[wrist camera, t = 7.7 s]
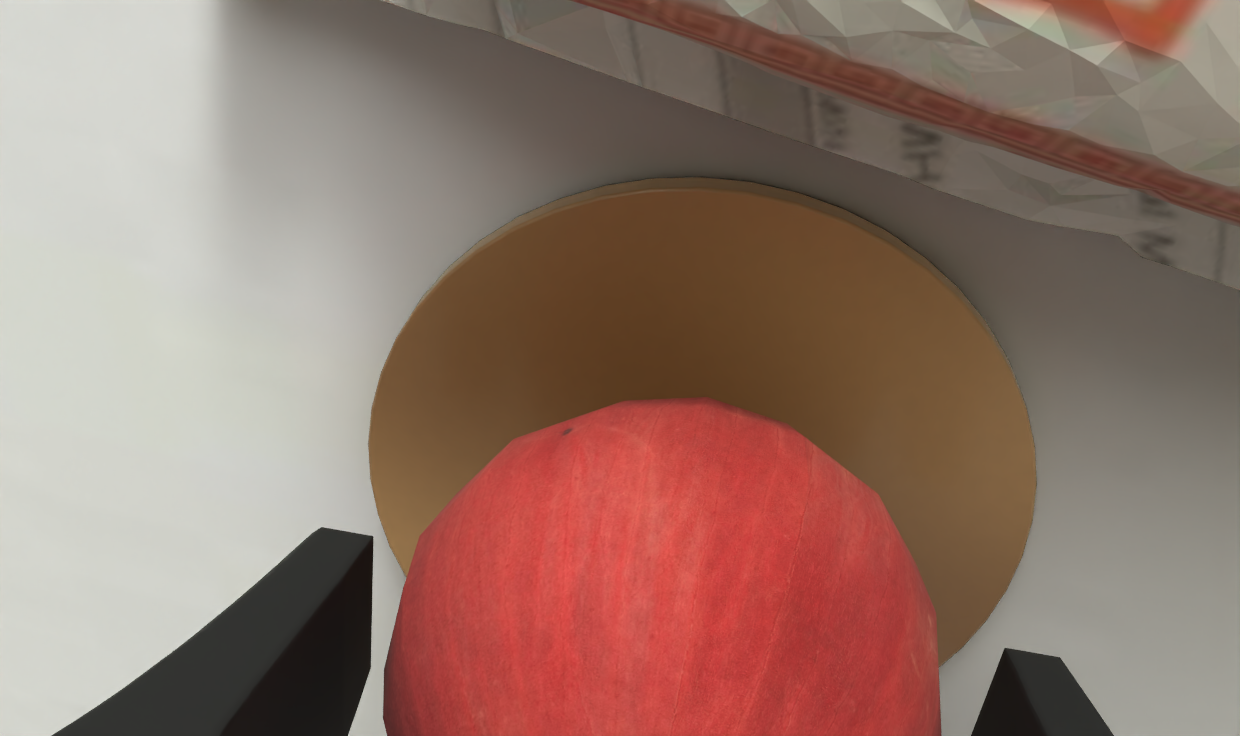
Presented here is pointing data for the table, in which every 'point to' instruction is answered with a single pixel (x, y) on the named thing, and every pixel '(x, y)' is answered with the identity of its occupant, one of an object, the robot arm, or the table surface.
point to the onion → (663, 590)
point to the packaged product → (954, 96)
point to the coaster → (721, 362)
